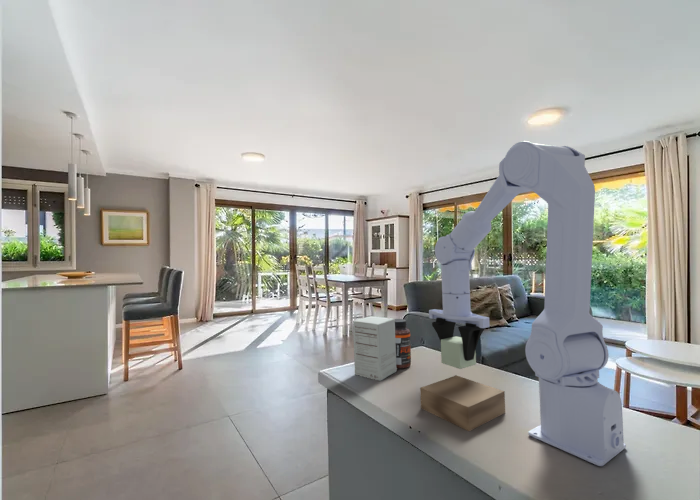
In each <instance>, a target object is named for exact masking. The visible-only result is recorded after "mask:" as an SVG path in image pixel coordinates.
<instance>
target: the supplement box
mask: <svg viewBox="0 0 700 500" xmlns="http://www.w3.org/2000/svg"><path fill="white" fill-rule="evenodd" d="M395 319H396V318H391V317H383V316H373V315H371V316H366V317H362V318H360V319H355V320H353V321H352V332H353V334H352V335H353V358H354V361H353V362H354V363H353V364H354V375H356V376H358V375H360V376H359V377H362V376H364V377H363V378H366V377H367V379H370V378H372V379H371V380H374V379H376V380H375V381H380V382H382V381H383V380H385V379H386V378H387V377H389V376H391V375H393V374H394V373H396V372H397V368H396V342H395Z"/></svg>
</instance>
